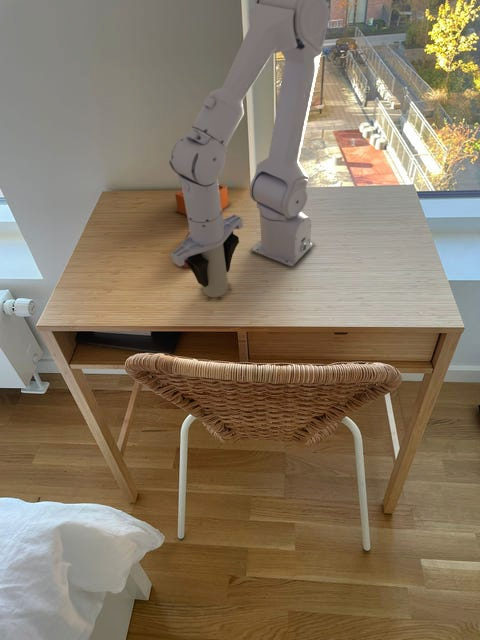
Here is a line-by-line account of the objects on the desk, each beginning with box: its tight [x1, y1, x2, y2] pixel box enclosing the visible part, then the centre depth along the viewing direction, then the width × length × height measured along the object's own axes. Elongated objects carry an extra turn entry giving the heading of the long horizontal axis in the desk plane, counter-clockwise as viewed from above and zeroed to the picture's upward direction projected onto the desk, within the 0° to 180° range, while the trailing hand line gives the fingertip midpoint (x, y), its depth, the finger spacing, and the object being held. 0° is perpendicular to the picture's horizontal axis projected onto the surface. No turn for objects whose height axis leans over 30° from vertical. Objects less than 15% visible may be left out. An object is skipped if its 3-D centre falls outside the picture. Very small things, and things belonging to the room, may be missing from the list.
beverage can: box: [200, 244, 229, 298], centre depth 87 cm, size 5×5×12 cm
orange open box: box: [174, 183, 229, 216], centre depth 109 cm, size 8×8×5 cm
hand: (213, 276), depth 89 cm, fingers closed on beverage can, 5 cm apart
